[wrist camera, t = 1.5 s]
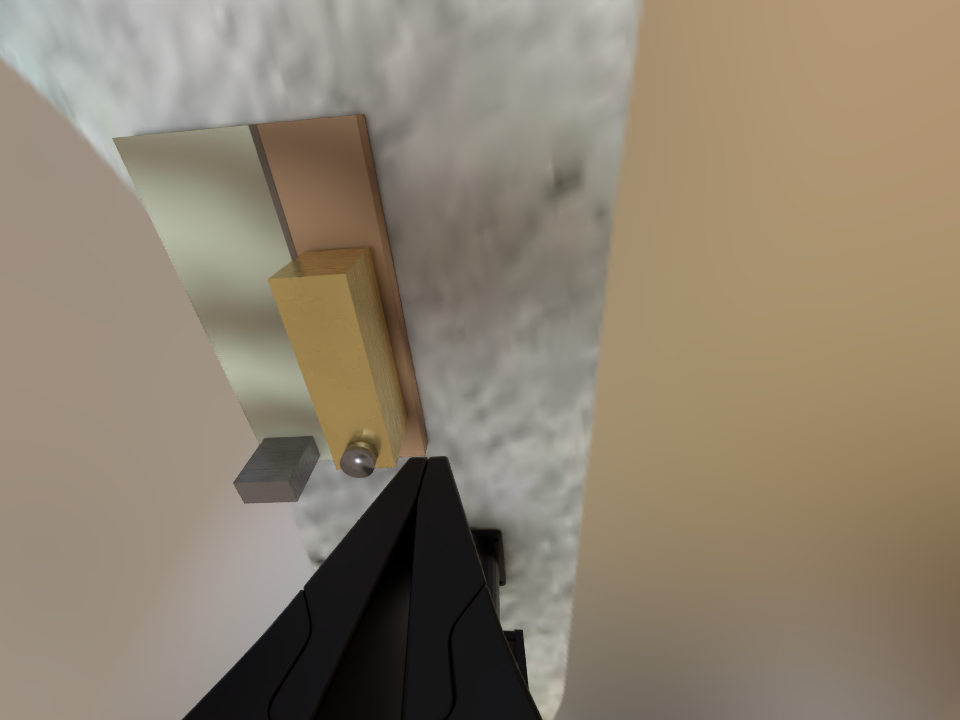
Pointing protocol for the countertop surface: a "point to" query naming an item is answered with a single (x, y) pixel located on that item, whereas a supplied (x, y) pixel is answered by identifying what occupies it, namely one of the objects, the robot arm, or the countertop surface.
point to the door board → (268, 248)
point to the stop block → (278, 470)
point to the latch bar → (344, 355)
